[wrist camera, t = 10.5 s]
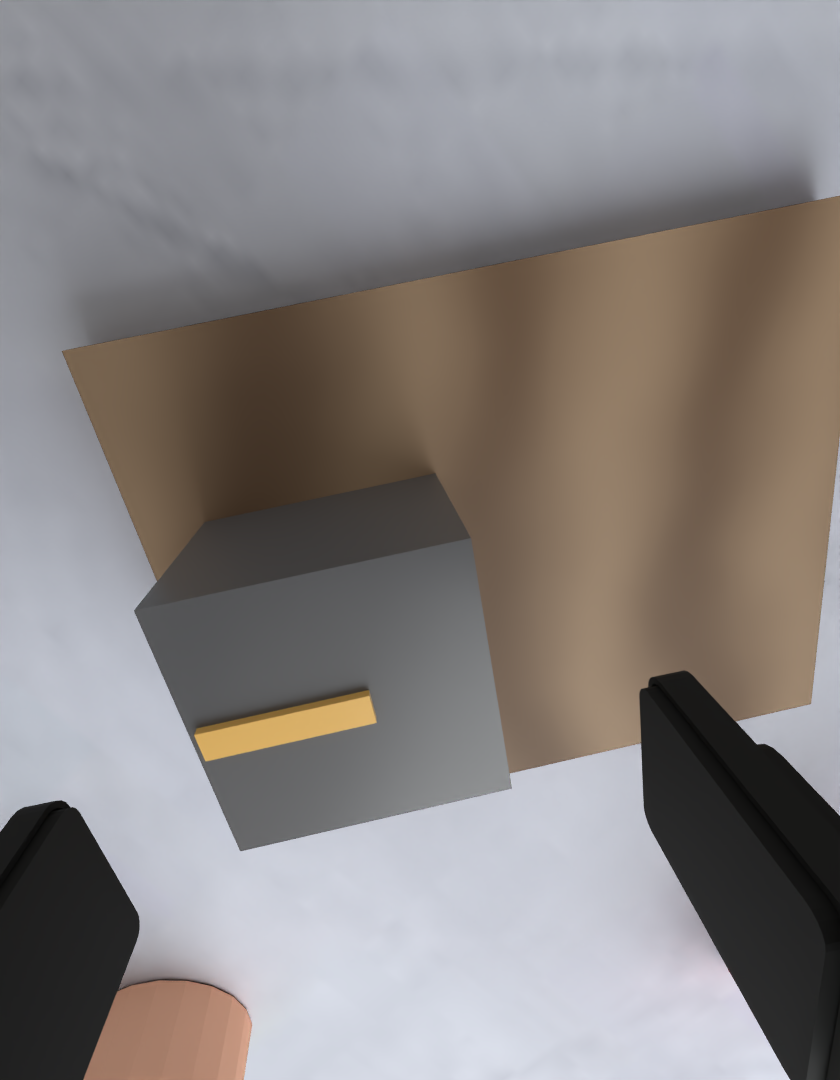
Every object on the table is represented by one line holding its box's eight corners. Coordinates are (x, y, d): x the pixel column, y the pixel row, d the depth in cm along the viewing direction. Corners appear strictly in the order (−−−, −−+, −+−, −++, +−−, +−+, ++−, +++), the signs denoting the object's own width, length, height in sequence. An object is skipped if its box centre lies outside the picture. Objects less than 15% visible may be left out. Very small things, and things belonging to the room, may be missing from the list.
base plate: (818, 203, 15) (865, 190, 13) (780, 678, 21) (810, 704, 19) (90, 348, 14) (61, 350, 13) (267, 796, 20) (260, 830, 19)
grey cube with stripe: (435, 473, 15) (472, 541, 10) (470, 665, 17) (514, 794, 12) (204, 522, 15) (129, 616, 10) (272, 709, 17) (238, 859, 12)
